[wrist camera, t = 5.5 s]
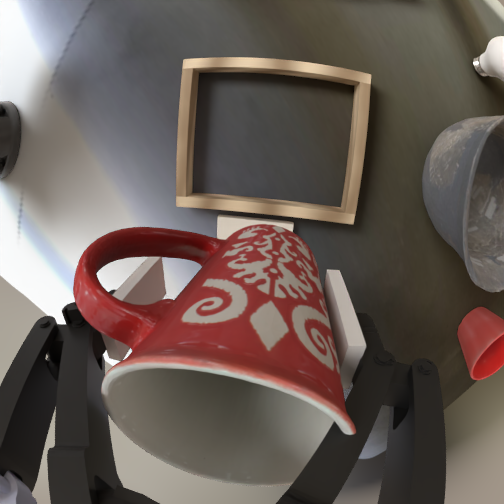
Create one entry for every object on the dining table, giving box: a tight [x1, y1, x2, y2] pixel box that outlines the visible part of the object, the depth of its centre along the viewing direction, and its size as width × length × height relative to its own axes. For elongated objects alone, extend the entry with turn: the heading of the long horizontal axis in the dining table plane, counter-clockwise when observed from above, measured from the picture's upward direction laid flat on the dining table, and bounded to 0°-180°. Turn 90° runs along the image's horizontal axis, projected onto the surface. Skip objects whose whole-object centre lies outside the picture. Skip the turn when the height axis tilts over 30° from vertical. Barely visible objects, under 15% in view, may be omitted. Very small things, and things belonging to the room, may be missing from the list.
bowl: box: [422, 115, 504, 292], centre depth 21 cm, size 18×18×15 cm
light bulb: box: [473, 36, 504, 82], centre depth 16 cm, size 7×7×11 cm
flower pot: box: [457, 307, 504, 380], centre depth 32 cm, size 11×11×10 cm
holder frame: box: [176, 57, 371, 224], centre depth 28 cm, size 20×17×2 cm
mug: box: [73, 224, 356, 486], centre depth 13 cm, size 13×9×14 cm
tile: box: [217, 214, 294, 240], centre depth 35 cm, size 9×9×1 cm
